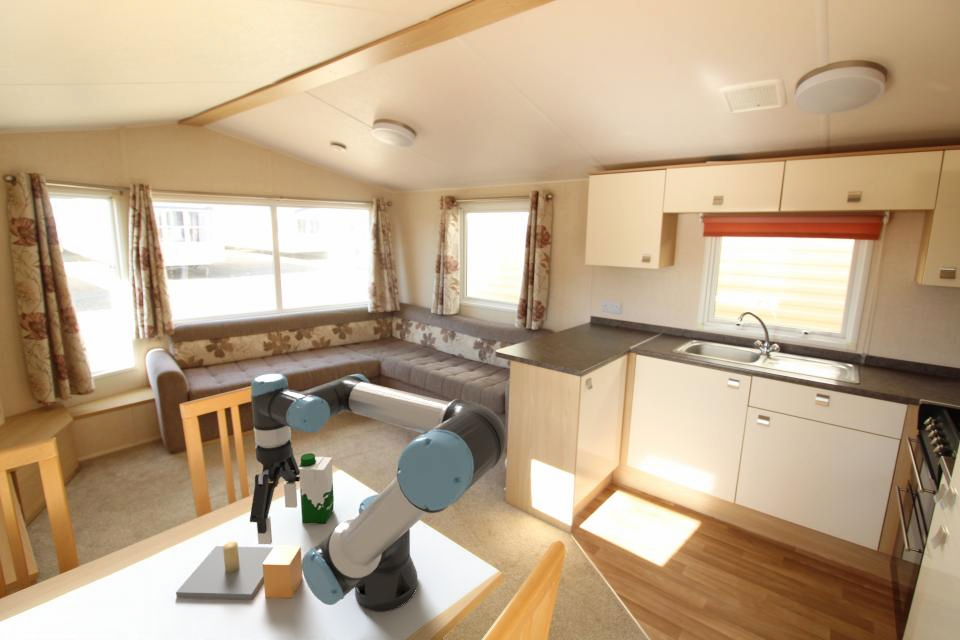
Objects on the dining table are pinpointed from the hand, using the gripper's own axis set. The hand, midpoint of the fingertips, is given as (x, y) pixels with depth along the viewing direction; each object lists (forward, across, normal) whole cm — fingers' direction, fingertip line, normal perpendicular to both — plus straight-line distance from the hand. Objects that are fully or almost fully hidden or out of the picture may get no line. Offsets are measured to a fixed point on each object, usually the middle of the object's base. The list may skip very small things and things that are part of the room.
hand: (279, 523), depth 107 cm
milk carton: (+18, -28, -2) cm, 33 cm away
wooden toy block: (+17, 0, 0) cm, 17 cm away
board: (+17, -4, -15) cm, 23 cm away
